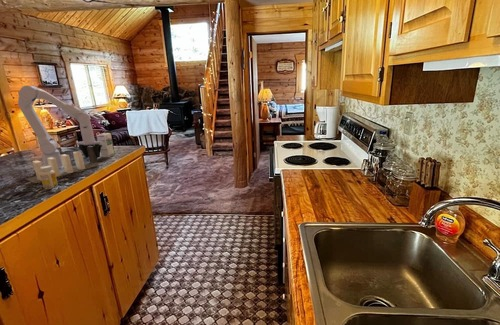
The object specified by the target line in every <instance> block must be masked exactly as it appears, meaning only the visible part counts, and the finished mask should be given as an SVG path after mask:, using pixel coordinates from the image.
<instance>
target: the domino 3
mask: <svg viewBox="0 0 500 325" xmlns="http://www.w3.org/2000/svg"><path fill="white" fill-rule="evenodd" d="M60 157H61V160H62V164H63V169H64V171H65V172H67V173H69V174H73V173H74V172H73V168H72V166H73V165H72V161H71V158H70V155H69V154H65V153H64V154H60ZM72 172H73V173H72Z"/></svg>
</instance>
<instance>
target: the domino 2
mask: <svg viewBox="0 0 500 325" xmlns="http://www.w3.org/2000/svg"><path fill="white" fill-rule="evenodd" d="M47 161H48V164H49V166H51V167H52V169H51V170H53V171H54V172H55V175H56V178H58V177H57V176H59V177H62V176H61V175H60V172H59V170H60V168H58V164H57V161H56V158H53V157H50V158H47Z"/></svg>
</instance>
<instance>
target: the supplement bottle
mask: <svg viewBox="0 0 500 325" xmlns="http://www.w3.org/2000/svg"><path fill="white" fill-rule="evenodd" d="M51 169H52V167H51V166H44V165H43V167H41V168H40V170H41V171H42V172H41V173H40V177H41V184H42V188H43V189H46V190H48V189H53V188H56V187H57V186H59V182H58V180H57V177H56V175H55V172H54V171H53V170H51Z"/></svg>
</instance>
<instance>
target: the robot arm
mask: <svg viewBox="0 0 500 325" xmlns="http://www.w3.org/2000/svg"><path fill="white" fill-rule="evenodd" d="M36 100H45V101H47V102H48V103H51V104H53V105H55V106H56V107H58V108H60V109H61V110H62V113H64V114H66V115H68V116H69V117H71V118H73V119H76V121H77V122H78V123H79V129H80V133H81V137H82V141H76V146H78V149H79V150H80V152H82V155H84V157H85V159H87V158H88V159H89V155H88V151H87V147H89V146H92V147H93V149H94V151H95V154H96V157H97V159H99V158H100V157H101V152H100V150H101V147H102V145H103V141H98V140H96V138H95V134H94V130H93V125H92V121H91V115H90V114H89V113H88V112H87V111H84V110H83V109H80V108H79V107H77V106H76V105H75V104H74V103H69V102H67V103H65V102H63V101H62V100H61V99H58V98H57V97H55V96H54V95H52V94H51V93H49V92H48V91H46V90H44V89H41V88H39V87H37V86H36V85H24V86H21V87H20V89H19V90H18V100H17V106H18V108H19V109H20V111H21V113H22V114H23V116H24V118H25V119H26V122H27V123H28V124H29V126H30V128H31V129H32V131H33V133H34V134H35V136H36V137H37V142H38V144H39V149H40V151H41V152H42V156H41V159H42V164H43V166H49V164H48V161H47V158H50V157H53V158H56V161H57V164H58V168H59V169H64V167H63V164H62V160H61V156H60V155H61V153H60V150H59V149H58V147H59V143H58V142H57V141H56V140H55V139H54V138H53V137H52V135H50V133H48V130H47V129H46V126H44V124H43V122H42V121H41V118H40V117H39V116H38V115H39V114H37V112H36V109H35V108H34V107H33V105H34V103H35V101H36Z"/></svg>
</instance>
